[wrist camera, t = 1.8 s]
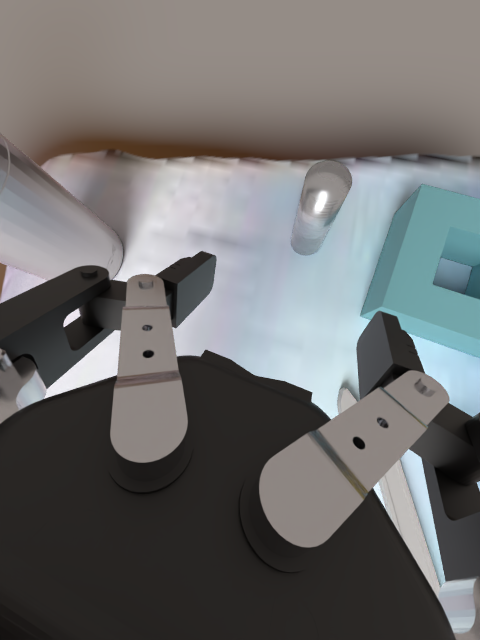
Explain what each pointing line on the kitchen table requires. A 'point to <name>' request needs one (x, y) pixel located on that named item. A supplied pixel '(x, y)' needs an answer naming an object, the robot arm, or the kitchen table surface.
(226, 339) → the kitchen table surface
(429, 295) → the socket block
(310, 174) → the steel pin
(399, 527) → the adjustable wrench
